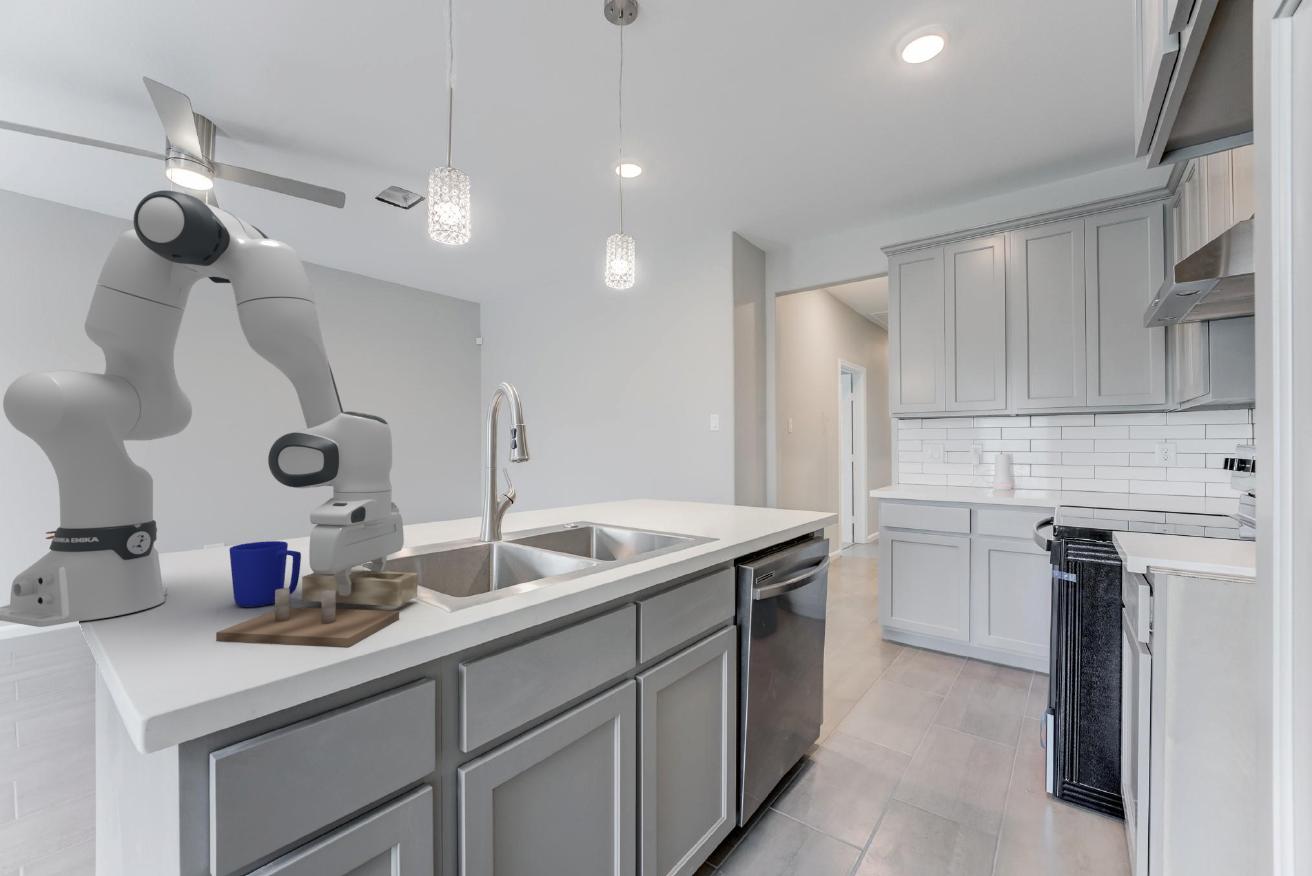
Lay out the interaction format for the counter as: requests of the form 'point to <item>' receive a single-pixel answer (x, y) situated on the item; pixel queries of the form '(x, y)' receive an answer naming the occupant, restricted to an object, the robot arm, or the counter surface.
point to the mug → (261, 571)
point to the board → (309, 624)
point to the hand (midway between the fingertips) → (361, 588)
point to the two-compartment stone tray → (364, 587)
